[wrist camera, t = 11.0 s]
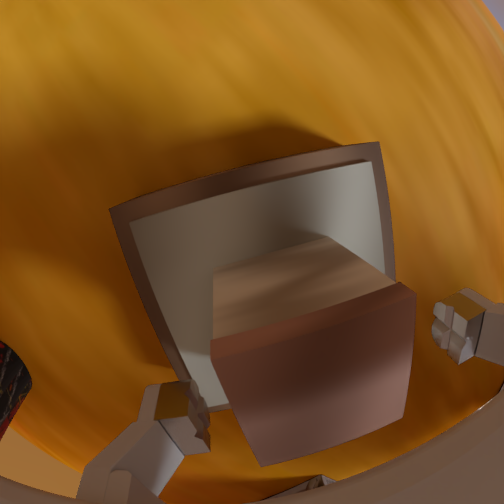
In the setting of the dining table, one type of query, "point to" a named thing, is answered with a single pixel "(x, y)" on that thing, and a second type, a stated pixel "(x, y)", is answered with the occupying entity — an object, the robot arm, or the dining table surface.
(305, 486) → the coffee box
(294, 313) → the pink and cream block
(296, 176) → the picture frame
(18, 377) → the deodorant
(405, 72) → the dining table surface
